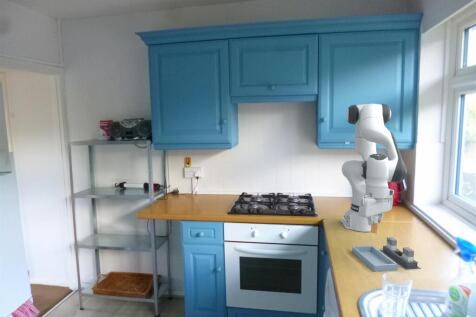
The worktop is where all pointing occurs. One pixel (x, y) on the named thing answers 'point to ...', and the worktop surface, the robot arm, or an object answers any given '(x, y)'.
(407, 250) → the outer fuse
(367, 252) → the tray
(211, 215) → the worktop surface
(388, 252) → the fuse block
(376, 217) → the marked fuse
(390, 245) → the block
